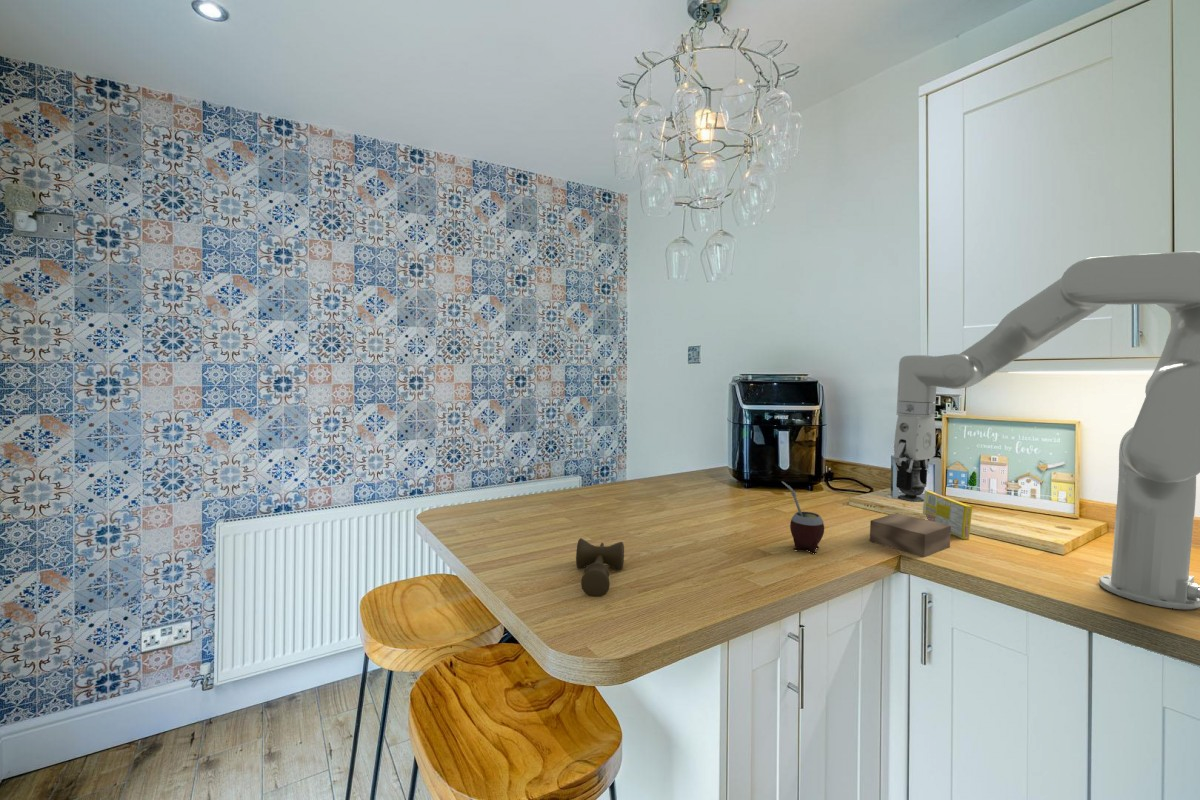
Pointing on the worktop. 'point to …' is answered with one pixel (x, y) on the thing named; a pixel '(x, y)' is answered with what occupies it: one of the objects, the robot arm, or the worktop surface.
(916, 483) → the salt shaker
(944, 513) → the candy box
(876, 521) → the walnut block
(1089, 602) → the worktop surface
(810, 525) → the mate gourd
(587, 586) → the kendama
